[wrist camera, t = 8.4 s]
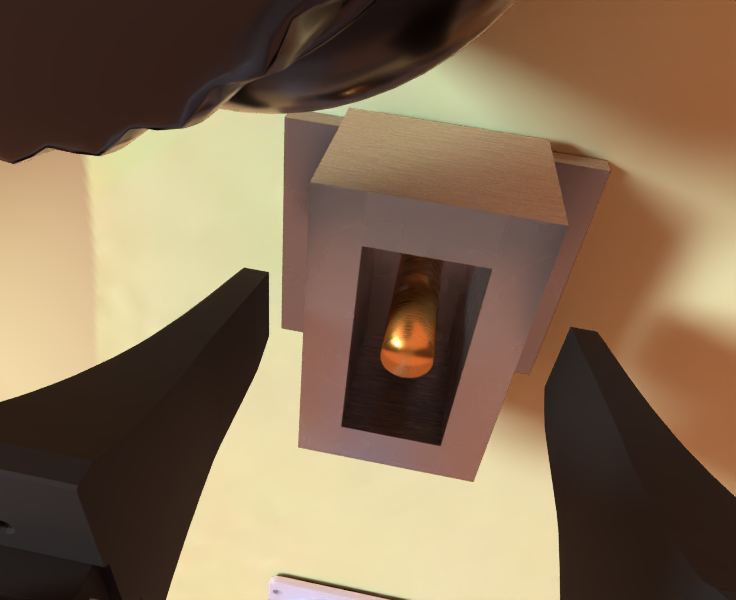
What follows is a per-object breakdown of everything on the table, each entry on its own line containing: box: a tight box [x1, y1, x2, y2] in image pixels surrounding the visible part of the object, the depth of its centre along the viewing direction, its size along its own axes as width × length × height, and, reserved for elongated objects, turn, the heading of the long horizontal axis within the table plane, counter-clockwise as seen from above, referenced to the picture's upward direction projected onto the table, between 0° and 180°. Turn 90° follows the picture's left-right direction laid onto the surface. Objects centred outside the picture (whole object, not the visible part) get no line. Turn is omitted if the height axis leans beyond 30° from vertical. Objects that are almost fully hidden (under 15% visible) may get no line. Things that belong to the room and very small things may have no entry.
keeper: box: [282, 112, 611, 378], centre depth 15 cm, size 7×8×5 cm
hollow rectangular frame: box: [298, 108, 569, 482], centre depth 15 cm, size 8×5×4 cm, turn 174°
